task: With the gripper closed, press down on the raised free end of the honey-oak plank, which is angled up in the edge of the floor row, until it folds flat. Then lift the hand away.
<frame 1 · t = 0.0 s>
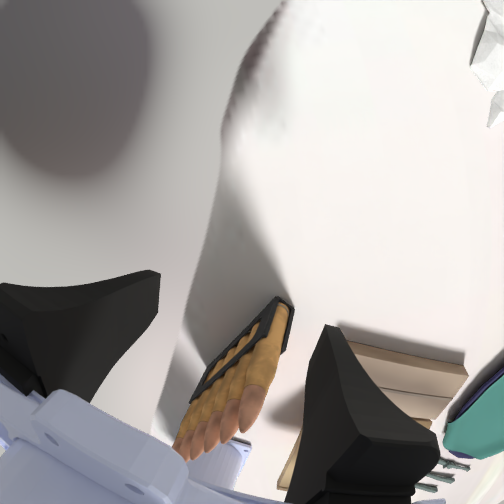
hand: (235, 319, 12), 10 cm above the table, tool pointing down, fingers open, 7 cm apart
floor row: (395, 380, 23), on the table
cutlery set: (483, 424, 24), on the table
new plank: (355, 457, 23), point 3 cm above the table, hinge at 25.0°
ammunition clip: (247, 341, 25), on the table
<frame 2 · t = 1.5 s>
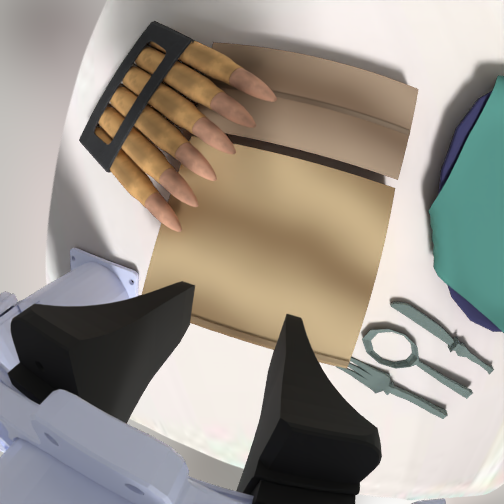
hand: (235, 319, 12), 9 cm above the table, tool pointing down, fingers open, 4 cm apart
floor row: (306, 105, 17), on the table
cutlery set: (496, 261, 18), on the table
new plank: (267, 247, 18), point 3 cm above the table, hinge at 23.6°, touching ammunition clip
ammunition clip: (119, 82, 18), point 1 cm above the table, touching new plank
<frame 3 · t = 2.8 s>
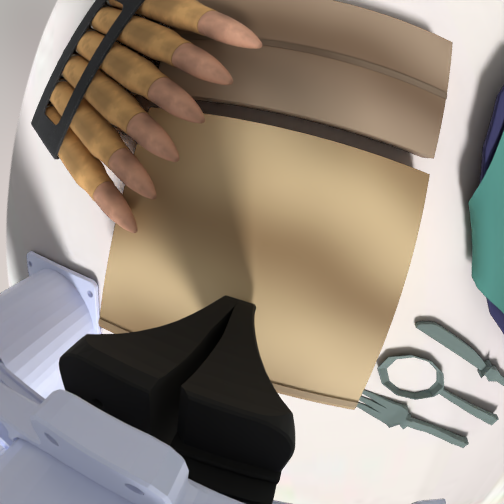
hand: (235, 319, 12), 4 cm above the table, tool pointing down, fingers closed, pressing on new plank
floor row: (305, 59, 12), on the table
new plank: (252, 255, 13), point 2 cm above the table, hinge at 16.2°, touching gripper
ammunition clip: (75, 51, 13), point 1 cm above the table, touching floor row
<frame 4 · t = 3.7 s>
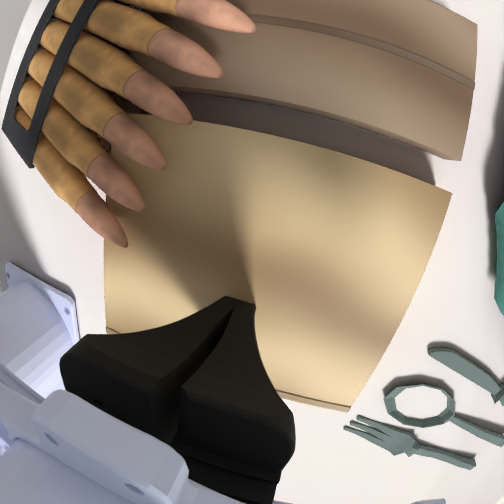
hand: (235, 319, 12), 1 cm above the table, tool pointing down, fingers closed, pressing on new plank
floor row: (304, 40, 9), on the table
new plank: (246, 274, 12), point 1 cm above the table, hinge at -0.7°, touching gripper
ammunition clip: (40, 45, 10), point 1 cm above the table, touching floor row
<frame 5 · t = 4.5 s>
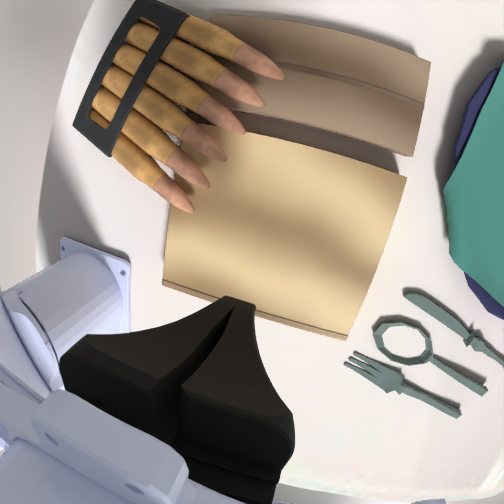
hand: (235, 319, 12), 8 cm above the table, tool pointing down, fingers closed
floor row: (311, 78, 15), on the table
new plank: (273, 233, 18), point 1 cm above the table, hinge at -0.7°
ammunition clip: (108, 61, 16), point 1 cm above the table, touching floor row
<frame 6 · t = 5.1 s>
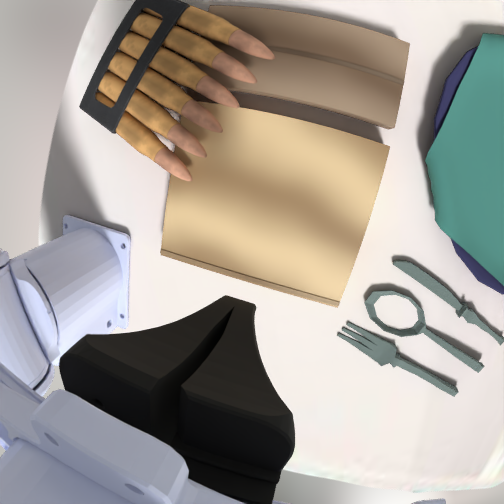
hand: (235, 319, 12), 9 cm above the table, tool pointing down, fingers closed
floor row: (300, 60, 16), on the table
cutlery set: (499, 219, 17), on the table
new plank: (265, 201, 19), point 1 cm above the table, hinge at -0.7°
ammunition clip: (114, 48, 17), point 1 cm above the table, touching floor row
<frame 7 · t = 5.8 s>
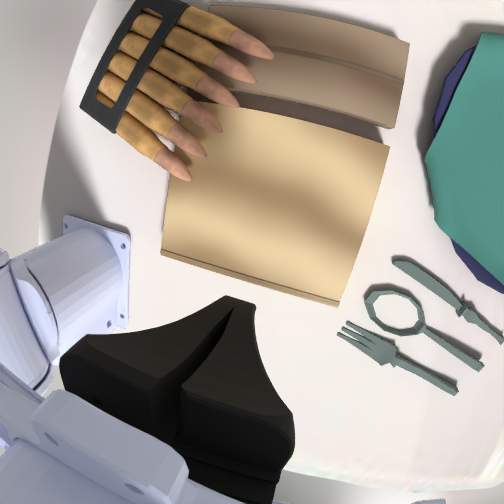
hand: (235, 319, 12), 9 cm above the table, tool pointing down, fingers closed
floor row: (300, 60, 16), on the table
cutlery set: (499, 218, 17), on the table
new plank: (265, 201, 19), point 1 cm above the table, hinge at -0.7°
ammunition clip: (114, 48, 17), point 1 cm above the table, touching floor row
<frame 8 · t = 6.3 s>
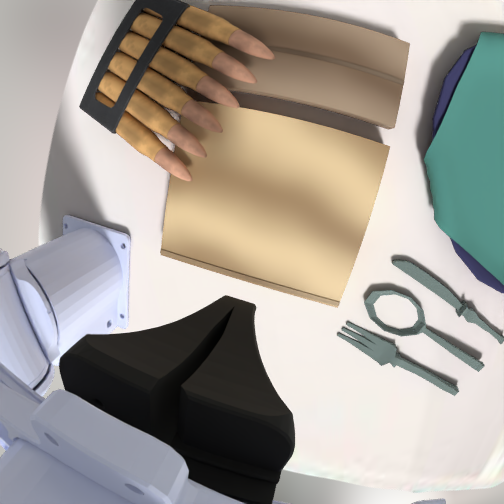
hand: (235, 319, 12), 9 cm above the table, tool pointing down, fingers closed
floor row: (300, 60, 16), on the table
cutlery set: (498, 218, 17), on the table
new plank: (265, 201, 19), point 1 cm above the table, hinge at -0.7°
ammunition clip: (114, 48, 17), point 1 cm above the table, touching floor row
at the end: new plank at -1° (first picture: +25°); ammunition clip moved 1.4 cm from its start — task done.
